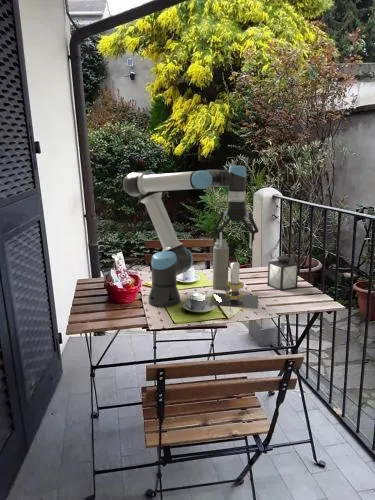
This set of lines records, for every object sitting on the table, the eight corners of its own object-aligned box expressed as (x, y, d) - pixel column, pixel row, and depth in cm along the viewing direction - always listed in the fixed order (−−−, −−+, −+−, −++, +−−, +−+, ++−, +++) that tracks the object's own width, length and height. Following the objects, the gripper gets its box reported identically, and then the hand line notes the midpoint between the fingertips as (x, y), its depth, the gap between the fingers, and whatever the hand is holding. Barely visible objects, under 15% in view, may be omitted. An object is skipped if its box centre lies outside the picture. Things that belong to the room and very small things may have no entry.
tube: (230, 298, 196) (231, 262, 192) (238, 299, 196) (239, 262, 192) (229, 301, 193) (230, 264, 189) (238, 301, 192) (239, 264, 188)
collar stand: (208, 308, 188) (208, 286, 186) (213, 295, 205) (213, 275, 203) (257, 311, 184) (258, 289, 181) (258, 298, 201) (259, 277, 199)
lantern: (283, 282, 227) (285, 232, 221) (297, 288, 218) (300, 236, 212) (267, 285, 222) (269, 234, 216) (281, 291, 212) (283, 238, 206)
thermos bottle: (228, 286, 219) (230, 235, 213) (227, 291, 212) (228, 238, 206) (213, 286, 221) (214, 234, 215) (211, 290, 213) (212, 237, 207)
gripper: (208, 200, 183) (207, 247, 187) (265, 202, 178) (262, 250, 183) (210, 199, 190) (209, 244, 195) (265, 200, 185) (263, 246, 190)
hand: (235, 247), depth 189 cm, fingers open, 13 cm apart
